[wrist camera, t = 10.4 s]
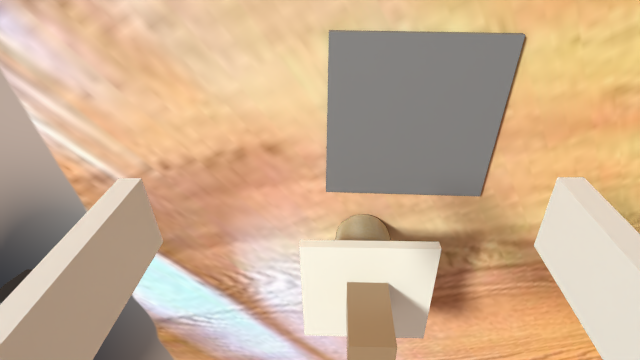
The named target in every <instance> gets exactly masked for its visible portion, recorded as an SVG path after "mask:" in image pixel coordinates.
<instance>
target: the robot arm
mask: <svg viewBox="0 0 640 360" xmlns="http://www.w3.org/2000/svg"><path fill="white" fill-rule="evenodd" d="M162 243H163V239H162V236H161V234H160V231H159V228H158V225H157V222H156V219H155V216H154V213H153V210H152V207H151V204H150V202H149V199H148V196H147V193H146V190H145V187H144V184H143V181H142V178H119V179H118V180H117V181H116V182H115V183H114V184H113V185H112V186H111V187H110V188H109V189H108V191H107V192H106V193H105V194H104V195H103V196H102V197H101V198H100V199H99V200H98V201H97V202H96V203H95V204H94V205H93V207H92V208H91V209H90V210H89V211H88V212H87V213H86V214H85V215H84V216H83V217H82V218H81V219H80V220H79V221H78V223H77V224H76V225H75V226H74V227H73V228H72V229H71V230H70V231H69V232H68V233H67V234H66V235H65V236H64V237H63V238H62V240H61V241H60V242H59V243H58V244H57V245H56V246H55V247H54V248H53V249H52V250H51V251H50V252H49V253H48V254H47V255H46V257H45V258H44V259H43V260H42V261H41V262H40V263H39V264H38V265H37V266H36V267H35V268H34V269H33V270H25V271H24V272H22V273H21V274H19V275H18V276H17V277H15V278H13V279H12V280H10V281H9V282H7V283H6V284H5V285H4V286H3V287H2V288H1V289H0V360H93V358H94V356H95V355H96V353H97V351H98V350H99V348H100V346H101V345H102V343H103V341H104V339H105V338H106V336H107V335H108V333H109V331H110V330H111V328H112V326H113V324H114V323H115V321H116V320H117V318H118V316H119V315H120V313H121V311H122V309H123V308H124V306H125V305H126V303H127V301H128V300H129V298H130V296H131V295H132V293H133V291H134V290H135V288H136V286H137V285H138V283H139V281H140V280H141V278H142V276H143V275H144V273H145V271H146V270H147V268H148V266H149V265H150V263H151V261H152V260H153V258H154V256H155V255H156V253H157V251H158V250H159V248H160V246H161V245H162ZM534 247H535V248H536V250H537V252H538V253H539V255H540V256H541V258H542V260H543V261H544V263H545V265H546V266H547V268H548V270H549V271H550V273H551V275H552V276H553V278H554V280H555V281H556V283H557V285H558V286H559V288H560V289H561V291H562V293H563V294H564V296H565V298H566V299H567V301H568V303H569V304H570V306H571V308H572V309H573V311H574V313H575V314H576V316H577V318H578V319H579V321H580V322H581V324H582V326H583V327H584V329H585V331H586V332H587V334H588V336H589V337H590V339H591V341H592V342H593V344H594V346H595V347H596V349H597V351H598V352H599V354H600V355H601V357H602V359H603V360H640V234H639V233H638V232H637V231H636V230H635V229H634V228H633V227H632V226H631V225H630V224H629V223H628V222H627V221H626V220H625V219H624V218H623V217H622V216H621V215H620V214H619V213H618V211H617V210H616V209H615V208H614V207H613V206H612V205H611V204H610V203H609V202H608V201H607V200H606V199H605V198H604V197H603V196H602V195H601V194H600V193H599V192H598V191H597V190H596V189H595V188H594V187H593V186H592V185H591V184H590V183H589V182H588V181H587V180H586V179H585V178H584V177H558V178H557V181H556V184H555V186H554V189H553V192H552V195H551V198H550V201H549V204H548V206H547V209H546V212H545V215H544V218H543V221H542V224H541V226H540V229H539V232H538V235H537V238H536V241H535V244H534Z"/></svg>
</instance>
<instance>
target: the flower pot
mask: <svg viewBox="0 0 640 360" xmlns="http://www.w3.org/2000/svg"><path fill="white" fill-rule="evenodd" d="M335 240H354V241H391V239H390V236H389V233H388V230H387V228H386V226H385V225H384V224H383V223H382V222H381V221H380V220H379V219H378V218H376V217H374V216H370V215H355V216H352V217H350V218H349V219H347V220H346V221H344V222H342V223H341V224H340V225H339V227H338V229H337V232H336V238H335Z"/></svg>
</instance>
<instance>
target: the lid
mask: <svg viewBox="0 0 640 360" xmlns="http://www.w3.org/2000/svg"><path fill="white" fill-rule="evenodd" d="M441 250H442V249H441V246H440V243H439V242H421V241H354V240H300V244H299V254H300V270H301V286H302V302H303V318H304V334H305V335H316V336H347V360H395V359H396V352H397V343H396V338H423V337H424V333H425V328H426V323H427V318H428V313H429V308H430V303H431V298H432V294H433V289H434V284H435V279H436V274H437V269H438V264H439V259H440V254H441Z"/></svg>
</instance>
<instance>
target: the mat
mask: <svg viewBox="0 0 640 360" xmlns="http://www.w3.org/2000/svg"><path fill="white" fill-rule="evenodd" d="M524 38H525V34H523V33H468V32H405V31H343V30H329V61H328V114H327V167H326V192H352V193H386V194H420V195H453V196H480V194H481V191H482V187H483V184H484V180H485V176H486V173H487V169H488V166H489V162H490V159H491V155H492V152H493V148H494V145H495V141H496V137H497V134H498V130H499V127H500V123H501V120H502V116H503V113H504V109H505V105H506V102H507V98H508V95H509V91H510V88H511V84H512V81H513V77H514V74H515V70H516V66H517V63H518V59H519V56H520V52H521V49H522V45H523V42H524Z"/></svg>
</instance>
